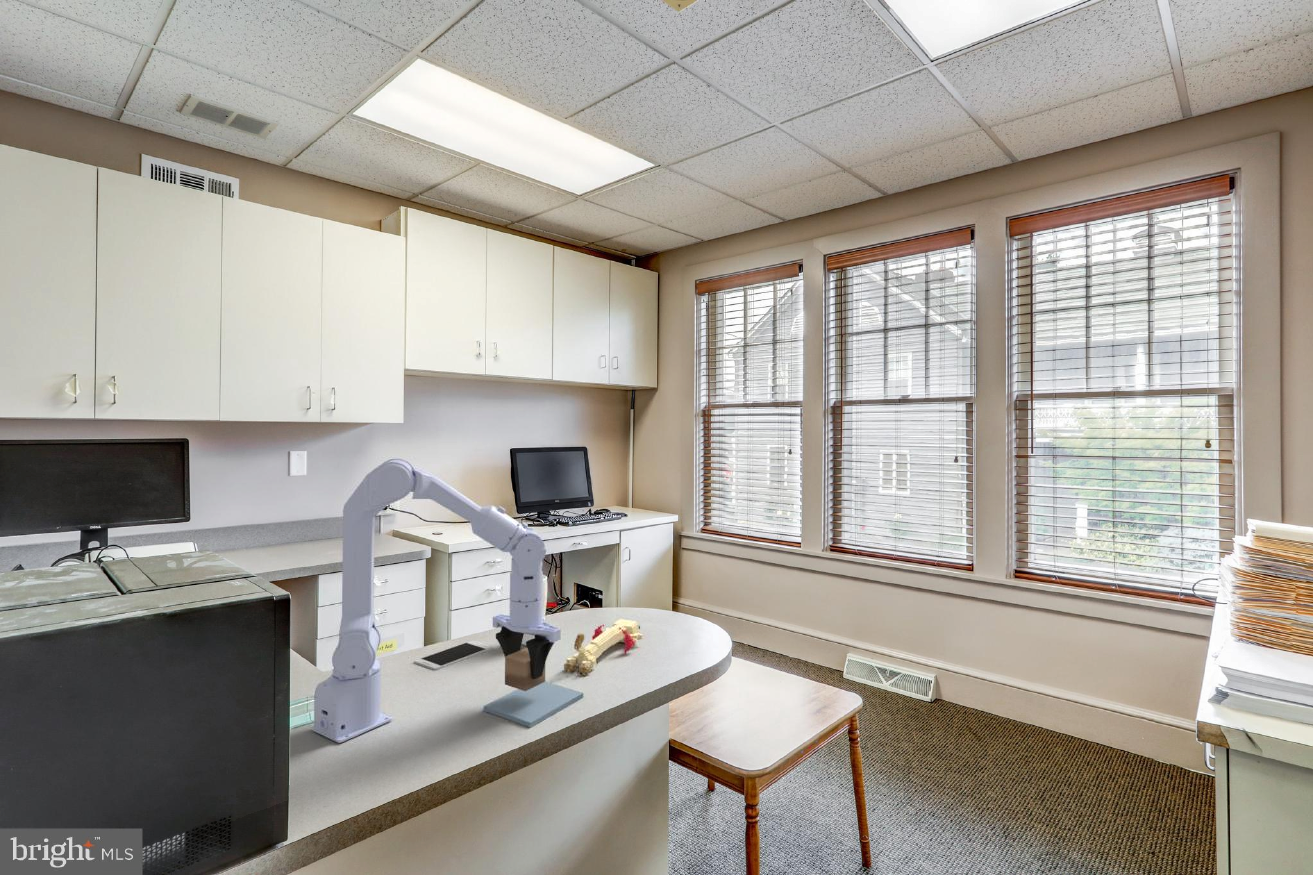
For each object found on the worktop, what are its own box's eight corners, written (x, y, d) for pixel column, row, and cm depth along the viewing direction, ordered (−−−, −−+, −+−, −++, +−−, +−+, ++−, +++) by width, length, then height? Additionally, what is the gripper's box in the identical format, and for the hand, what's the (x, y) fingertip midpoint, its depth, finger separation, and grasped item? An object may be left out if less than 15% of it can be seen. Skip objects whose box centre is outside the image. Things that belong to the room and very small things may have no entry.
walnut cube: (525, 691, 110) (526, 662, 110) (504, 684, 113) (505, 656, 113) (545, 681, 115) (545, 654, 115) (524, 675, 117) (525, 648, 117)
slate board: (530, 727, 105) (530, 722, 105) (483, 710, 111) (483, 706, 111) (583, 697, 117) (583, 692, 117) (538, 683, 123) (538, 679, 123)
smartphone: (494, 650, 141) (494, 646, 141) (435, 672, 128) (435, 668, 128) (472, 643, 145) (472, 639, 145) (413, 664, 132) (413, 660, 132)
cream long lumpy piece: (597, 684, 126) (652, 637, 149) (596, 642, 125) (652, 600, 148) (555, 675, 131) (615, 630, 153) (554, 634, 130) (614, 595, 152)
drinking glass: (513, 639, 147) (514, 575, 146) (542, 636, 150) (543, 572, 149) (520, 649, 141) (521, 582, 140) (550, 645, 143) (551, 579, 143)
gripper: (572, 599, 113) (571, 675, 113) (512, 587, 121) (511, 658, 121) (545, 608, 107) (544, 688, 107) (484, 595, 115) (483, 670, 115)
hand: (525, 673), depth 114 cm, fingers closed on walnut cube, 5 cm apart
